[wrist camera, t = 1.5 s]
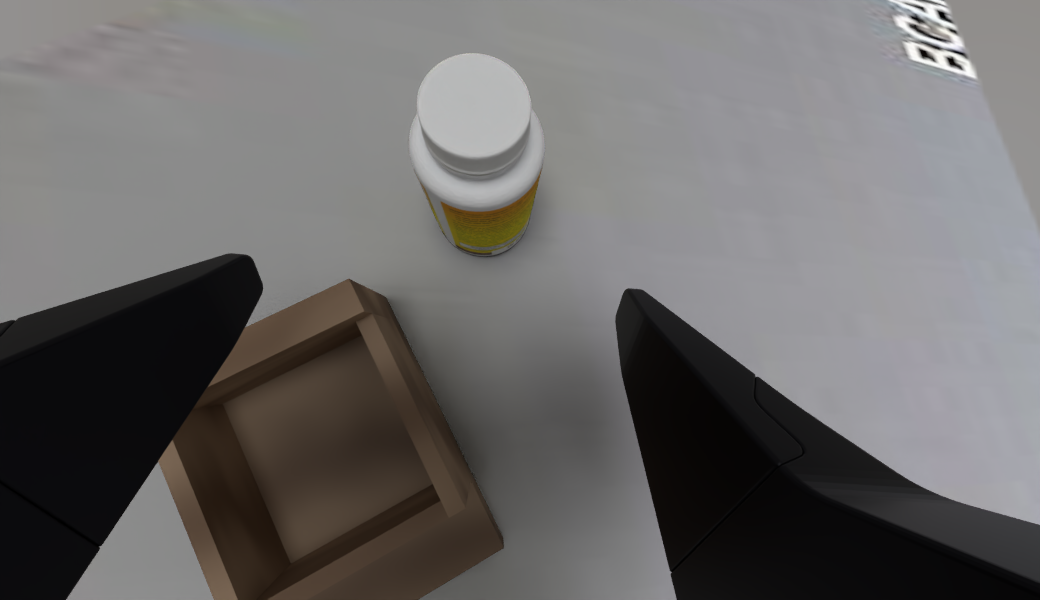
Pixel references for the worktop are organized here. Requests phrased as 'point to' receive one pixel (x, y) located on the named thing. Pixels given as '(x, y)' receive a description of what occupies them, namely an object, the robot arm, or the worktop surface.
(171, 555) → the worktop surface
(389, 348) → the open wooden box
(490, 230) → the supplement bottle
